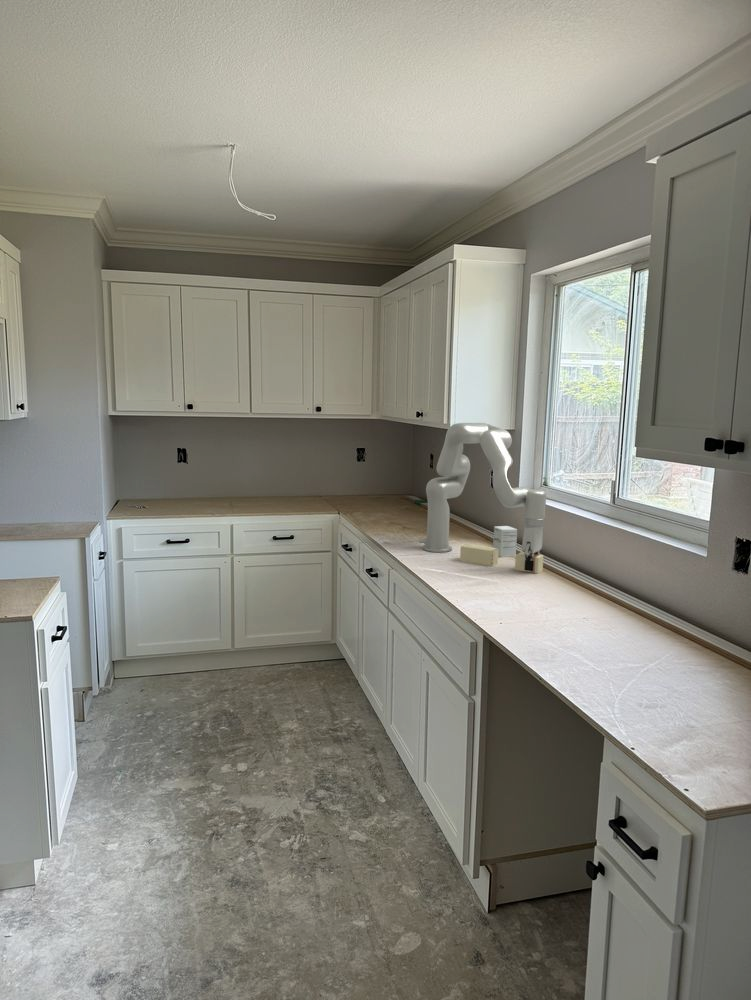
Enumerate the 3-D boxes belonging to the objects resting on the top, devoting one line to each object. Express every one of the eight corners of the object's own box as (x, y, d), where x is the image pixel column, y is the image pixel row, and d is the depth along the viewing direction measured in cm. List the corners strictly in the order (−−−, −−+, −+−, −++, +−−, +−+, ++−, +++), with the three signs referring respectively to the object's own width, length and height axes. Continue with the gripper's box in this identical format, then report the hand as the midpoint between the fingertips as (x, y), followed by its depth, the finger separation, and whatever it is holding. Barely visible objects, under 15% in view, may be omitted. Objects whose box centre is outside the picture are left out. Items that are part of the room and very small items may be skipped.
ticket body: (459, 561, 273) (460, 546, 272) (465, 558, 277) (466, 543, 276) (492, 566, 265) (493, 551, 264) (497, 564, 270) (498, 548, 269)
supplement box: (492, 555, 287) (493, 526, 285) (507, 554, 289) (509, 525, 287) (500, 559, 280) (501, 529, 278) (516, 558, 282) (517, 528, 280)
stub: (515, 569, 260) (515, 554, 259) (520, 567, 265) (521, 551, 264) (537, 573, 255) (538, 557, 254) (542, 570, 260) (543, 555, 259)
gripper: (532, 518, 266) (530, 562, 269) (516, 524, 251) (514, 571, 254) (551, 520, 262) (548, 565, 265) (536, 527, 247) (533, 575, 250)
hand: (531, 568), depth 259 cm, fingers closed on stub, 5 cm apart
